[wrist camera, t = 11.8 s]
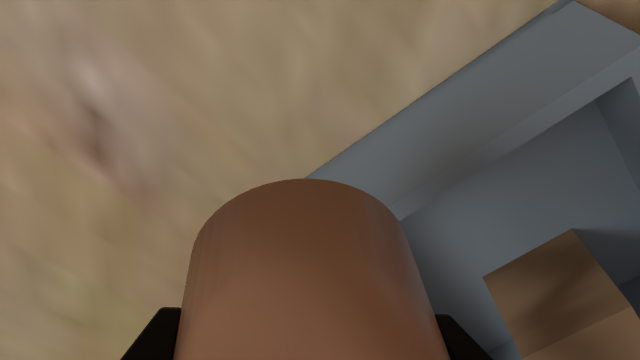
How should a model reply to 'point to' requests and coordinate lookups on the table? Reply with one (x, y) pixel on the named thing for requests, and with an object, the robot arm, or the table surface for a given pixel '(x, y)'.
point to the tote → (514, 163)
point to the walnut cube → (564, 305)
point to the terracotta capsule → (305, 280)
